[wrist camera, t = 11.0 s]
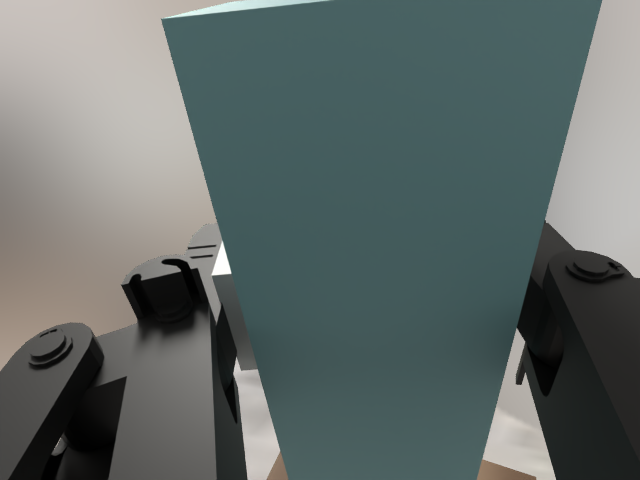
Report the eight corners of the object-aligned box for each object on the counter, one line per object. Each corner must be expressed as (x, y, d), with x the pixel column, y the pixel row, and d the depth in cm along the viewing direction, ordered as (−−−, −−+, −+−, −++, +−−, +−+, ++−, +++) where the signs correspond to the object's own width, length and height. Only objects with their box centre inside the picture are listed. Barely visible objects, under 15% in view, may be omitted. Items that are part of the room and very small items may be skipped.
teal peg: (309, 554, 12) (161, 20, 4) (307, 415, 15) (230, 2, 8) (460, 542, 12) (610, -31, 4) (421, 405, 15) (458, -24, 8)
